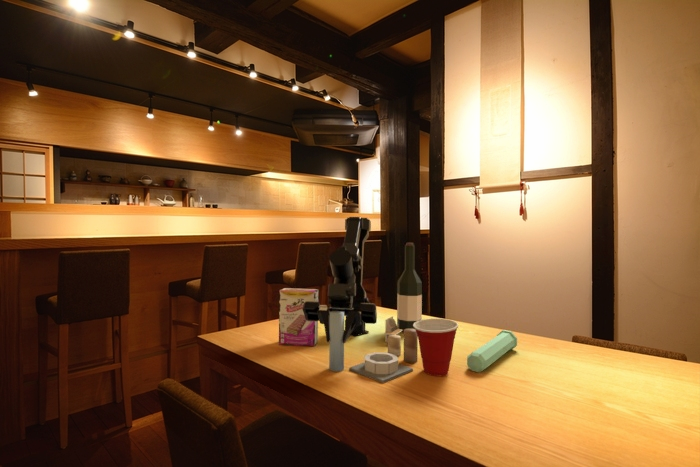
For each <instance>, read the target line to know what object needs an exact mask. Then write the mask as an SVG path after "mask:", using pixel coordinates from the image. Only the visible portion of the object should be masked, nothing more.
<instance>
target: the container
mask: <svg viewBox="0 0 700 467" xmlns="http://www.w3.org/2000/svg"><path fill="white" fill-rule="evenodd" d="M517 346H518V337H517V336H516V335H515V333H514V332H512V330H506V329H503V330H501V331H500V332H499V333H498V334H496V336H495V337H494V338H492V339H490V340H489V341H487V342H486V343H485V344H483V345H481V346H480V347H478V348H477V349H475V350H473V351H472V352H470V354H468V355H467V357H466V361H467V362H466V366H467V367H468V368H469V369H470V370H471V372H476V373H481V372H483V371H484V370H485V369H487V368H488V367H489V366H490V365H492V364H493V363H495V362H496V361H497V360H498V359H500V358H501V357H503V356H504V355H505V354H506V353H507V352H509V351H512V350H514V349H515V348H517Z"/></svg>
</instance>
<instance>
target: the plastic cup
mask: <svg viewBox="0 0 700 467" xmlns="http://www.w3.org/2000/svg"><path fill="white" fill-rule="evenodd" d="M413 327H414V328H415V330H416V333H417V336H418V346H419V352H420V356H421V361H422V362H421V363H422V368H423V372H424V373H425V374H427V375H430V376H433V377H434V376H435V377H443V376H446V375H448V374H449V371H450V365H451V360H452V357H453V356H452V355H453V349H454V342H455V338H456V334H457V329H459V323H458V322H457V321H455V320H452V319H447V318H440V317H439V318H425V319H422V320H420V321H417V322H415V323H414V324H413Z"/></svg>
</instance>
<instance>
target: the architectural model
mask: <svg viewBox="0 0 700 467" xmlns="http://www.w3.org/2000/svg"><path fill="white" fill-rule="evenodd" d="M384 324H385V332H384V336H385V339H384V342H385V344H386V343H388V336H389V335H398V336H399V334H400V333H402V332H401V331H402V329H398V326H397V321H395V318H394V316H390V317H388V318H386V319H385V323H384Z"/></svg>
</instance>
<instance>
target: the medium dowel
mask: <svg viewBox="0 0 700 467" xmlns="http://www.w3.org/2000/svg"><path fill="white" fill-rule="evenodd" d="M418 346H419V340H418V336H417V333H416V330H415V329H404V333H403V362H405V363H408V364H415V363H417V362H418V348H419V347H418Z"/></svg>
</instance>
